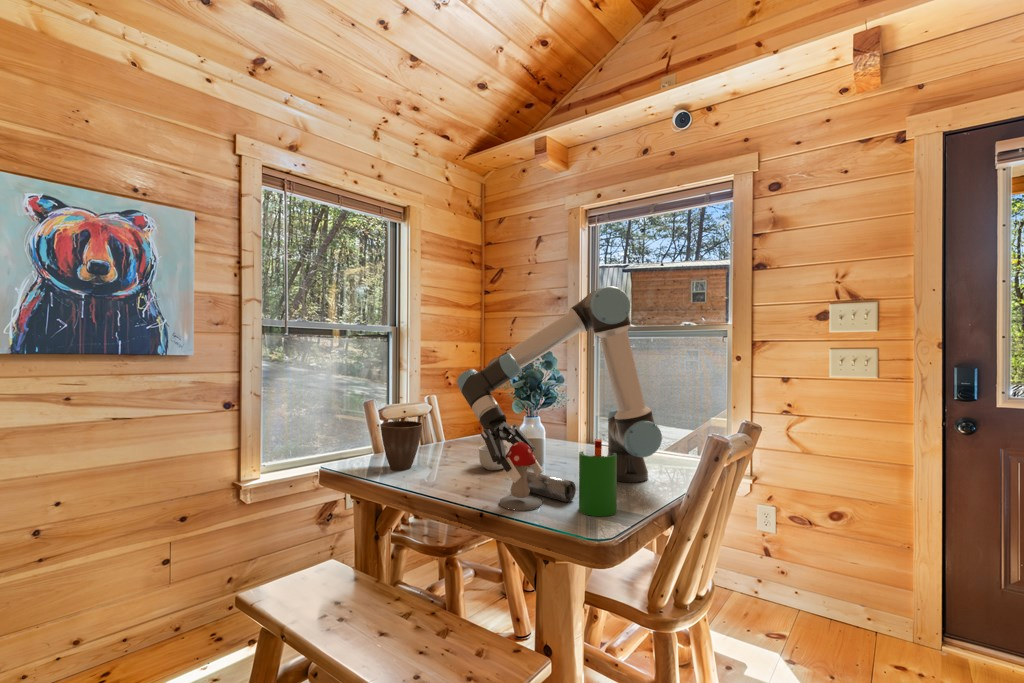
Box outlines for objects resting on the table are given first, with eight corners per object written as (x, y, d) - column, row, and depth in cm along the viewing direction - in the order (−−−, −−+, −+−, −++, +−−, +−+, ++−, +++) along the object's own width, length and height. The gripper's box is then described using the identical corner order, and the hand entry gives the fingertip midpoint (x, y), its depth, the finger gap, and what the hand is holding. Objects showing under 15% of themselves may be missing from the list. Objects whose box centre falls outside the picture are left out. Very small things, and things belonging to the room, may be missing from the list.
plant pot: (425, 463, 196) (425, 420, 196) (418, 473, 181) (418, 427, 181) (385, 463, 196) (385, 420, 196) (375, 473, 181) (375, 427, 181)
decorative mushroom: (500, 491, 151) (500, 439, 151) (528, 488, 154) (528, 438, 154) (511, 501, 142) (511, 446, 142) (540, 498, 144) (541, 444, 144)
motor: (612, 506, 147) (613, 435, 147) (620, 516, 138) (620, 441, 138) (576, 506, 146) (577, 435, 146) (582, 516, 137) (582, 441, 137)
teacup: (510, 471, 185) (510, 449, 185) (480, 472, 183) (480, 449, 183) (504, 462, 198) (504, 441, 198) (476, 463, 197) (476, 442, 197)
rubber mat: (519, 495, 156) (519, 492, 156) (550, 503, 148) (550, 501, 148) (490, 504, 147) (490, 501, 147) (522, 513, 139) (522, 510, 139)
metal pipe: (528, 487, 164) (528, 468, 164) (576, 500, 152) (576, 479, 152) (515, 491, 160) (515, 472, 160) (563, 504, 147) (564, 483, 147)
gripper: (507, 418, 166) (545, 477, 155) (456, 425, 150) (495, 492, 139) (520, 403, 163) (560, 462, 152) (468, 409, 147) (509, 476, 136)
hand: (529, 476), depth 146 cm, fingers closed on decorative mushroom, 9 cm apart
